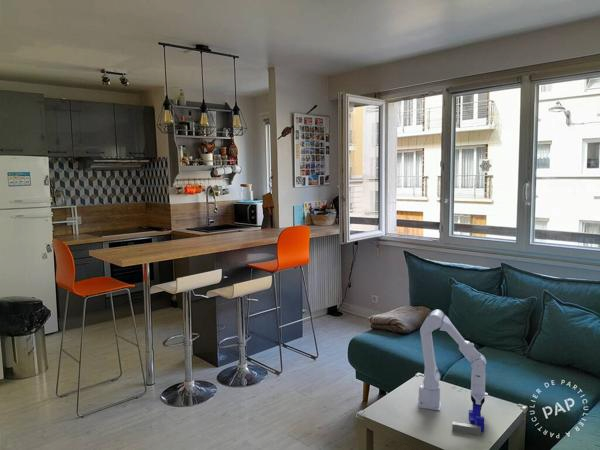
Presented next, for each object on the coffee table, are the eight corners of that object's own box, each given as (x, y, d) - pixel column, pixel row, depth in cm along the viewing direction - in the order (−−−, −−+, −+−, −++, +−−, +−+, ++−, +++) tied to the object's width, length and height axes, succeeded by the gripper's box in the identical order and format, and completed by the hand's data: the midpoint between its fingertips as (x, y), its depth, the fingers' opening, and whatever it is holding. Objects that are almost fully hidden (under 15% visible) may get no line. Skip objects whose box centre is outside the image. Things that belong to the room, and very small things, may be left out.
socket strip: (452, 430, 188) (452, 424, 187) (452, 428, 190) (452, 421, 189) (480, 435, 184) (481, 428, 184) (480, 433, 186) (480, 426, 186)
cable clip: (468, 416, 199) (469, 403, 198) (479, 417, 198) (480, 404, 197) (472, 431, 187) (472, 417, 187) (483, 432, 186) (484, 418, 185)
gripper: (488, 391, 190) (487, 422, 192) (487, 377, 204) (486, 405, 205) (470, 389, 193) (470, 419, 194) (470, 374, 206) (469, 403, 208)
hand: (477, 412), depth 200 cm, fingers closed
